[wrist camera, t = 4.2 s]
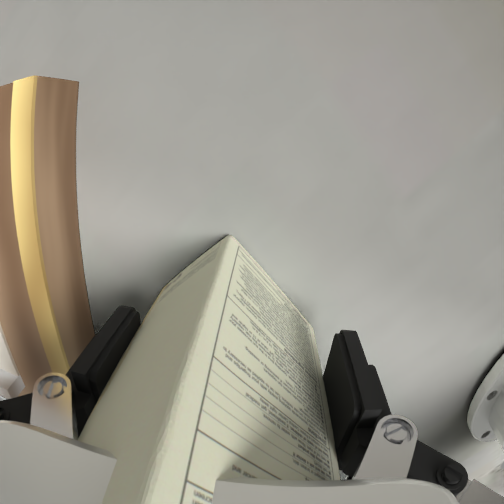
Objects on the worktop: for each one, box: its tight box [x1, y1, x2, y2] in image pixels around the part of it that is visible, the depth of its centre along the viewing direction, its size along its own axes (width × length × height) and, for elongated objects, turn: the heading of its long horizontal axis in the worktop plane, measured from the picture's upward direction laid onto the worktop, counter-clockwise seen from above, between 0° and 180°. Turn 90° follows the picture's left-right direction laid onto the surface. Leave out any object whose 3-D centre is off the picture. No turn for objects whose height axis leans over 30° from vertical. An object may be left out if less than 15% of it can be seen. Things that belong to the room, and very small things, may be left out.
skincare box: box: [78, 235, 340, 504], centre depth 9 cm, size 6×4×12 cm
